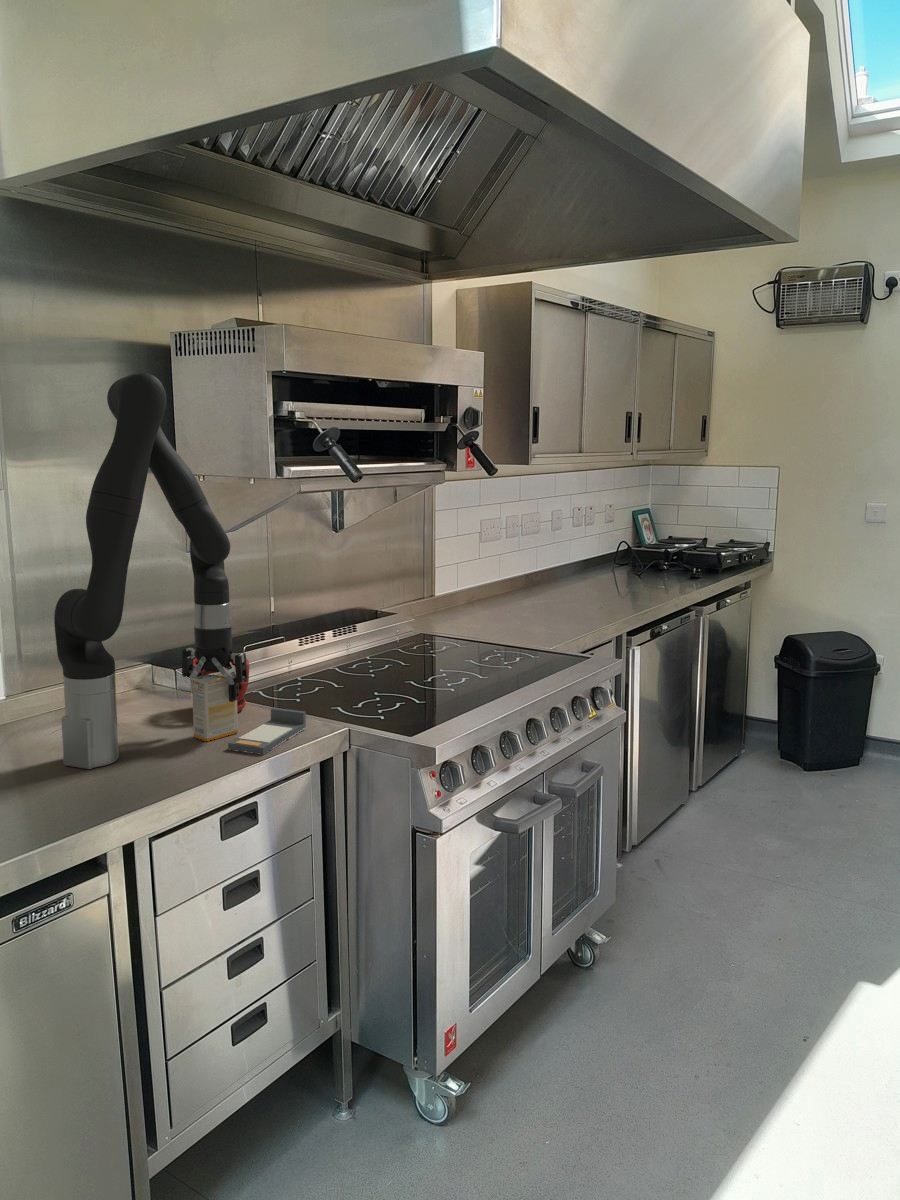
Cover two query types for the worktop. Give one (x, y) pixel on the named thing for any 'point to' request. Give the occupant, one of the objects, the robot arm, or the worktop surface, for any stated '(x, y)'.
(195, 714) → the supplement box
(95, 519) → the robot arm
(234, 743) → the plate
